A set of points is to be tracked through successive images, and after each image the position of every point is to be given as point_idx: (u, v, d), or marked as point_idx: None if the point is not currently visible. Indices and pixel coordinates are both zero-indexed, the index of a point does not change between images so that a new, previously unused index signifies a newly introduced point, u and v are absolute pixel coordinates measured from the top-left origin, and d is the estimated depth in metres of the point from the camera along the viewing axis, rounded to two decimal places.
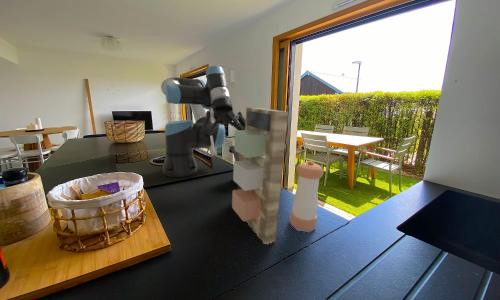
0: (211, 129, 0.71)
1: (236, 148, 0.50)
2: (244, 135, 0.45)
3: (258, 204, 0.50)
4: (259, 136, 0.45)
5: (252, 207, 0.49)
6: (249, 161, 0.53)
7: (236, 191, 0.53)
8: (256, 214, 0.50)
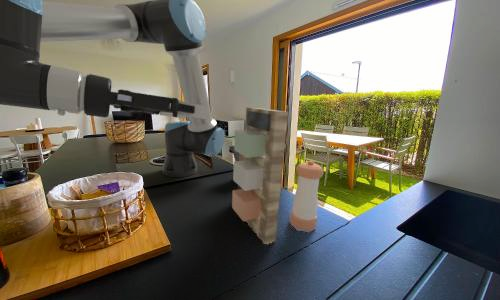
0: (150, 112, 0.50)
1: (236, 148, 0.50)
2: (244, 135, 0.45)
3: (258, 204, 0.50)
4: (259, 136, 0.45)
5: (252, 207, 0.49)
6: (249, 161, 0.53)
7: (236, 191, 0.53)
8: (256, 214, 0.50)
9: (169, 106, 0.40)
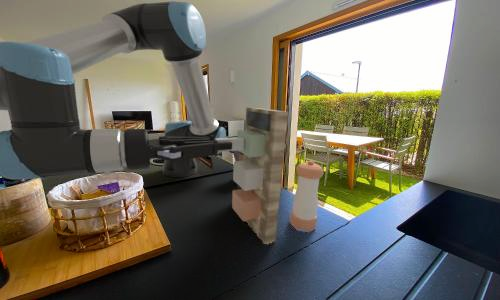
0: None
1: None
2: (247, 135, 0.46)
3: (258, 204, 0.50)
4: (262, 136, 0.46)
5: (252, 207, 0.49)
6: (249, 161, 0.53)
7: (236, 191, 0.53)
8: (256, 214, 0.50)
9: None
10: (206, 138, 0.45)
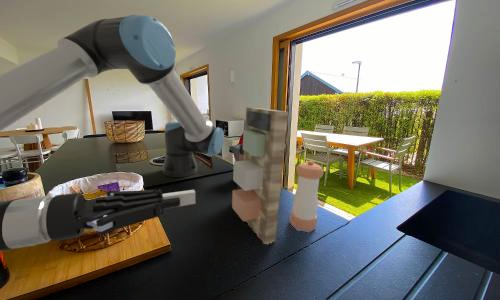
0: None
1: (245, 147, 0.51)
2: (253, 135, 0.47)
3: (258, 204, 0.50)
4: None
5: (252, 207, 0.49)
6: (249, 161, 0.53)
7: (236, 191, 0.53)
8: (256, 214, 0.50)
9: None
10: (153, 193, 0.43)
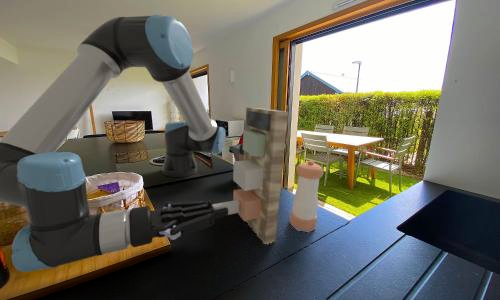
0: None
1: (245, 147, 0.51)
2: (253, 135, 0.47)
3: (259, 204, 0.50)
4: None
5: (253, 207, 0.49)
6: (249, 161, 0.53)
7: (237, 191, 0.54)
8: (257, 214, 0.51)
9: None
10: (204, 204, 0.49)
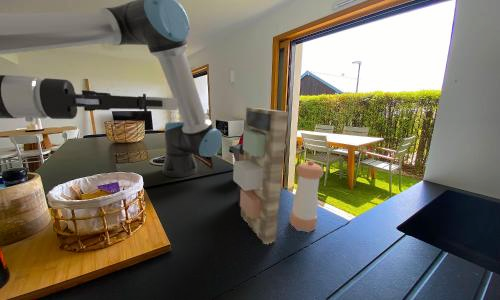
0: None
1: (245, 147, 0.51)
2: (253, 135, 0.47)
3: None
4: None
5: (260, 205, 0.50)
6: (249, 161, 0.53)
7: None
8: None
9: None
10: None
